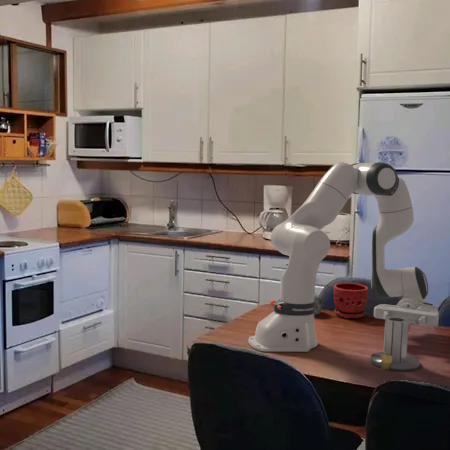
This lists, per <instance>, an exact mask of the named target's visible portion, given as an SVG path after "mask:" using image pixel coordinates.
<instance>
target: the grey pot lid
mask: <svg viewBox="0 0 450 450" xmlns="http://www.w3.org/2000/svg"><path fill="white" fill-rule="evenodd" d="M383 352H384V351H378V352H374V353H372V354H371V355H370V358H369V361H370V363H371V364H372V365H373V366H375V367H377V368H379V369H380V370H382V371H392V372H393V371H394V372H412V371H415V370H418V369H419V368H420V359H418V358H417V357H415V356H412V355H410V354H407V357H406V362H402V363H394V362H392V355H391V354H383Z"/></svg>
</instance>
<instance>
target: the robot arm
mask: <svg viewBox="0 0 450 450" xmlns="http://www.w3.org/2000/svg"><path fill="white" fill-rule="evenodd" d="M352 194H353V195H354V194H355V195H364V196H374V197H375V200H376V201H377V205H378V206H377V207H378V213H379V220H378V223H377V225H376V226H374V228H373V230H372V235H371V237H372V239H371V265H372V267H371V268H372V269H371V272H372V273H371V283H370V285H371V290H372V293H373V294H374V295H375V296H376V297H378V298H380V299H382V300H385V299H391V298H397V297H402V298H401V299H400V300H399V301H398V303H397V304H395V305H394V304H386V303H383V304H382V303H380V304H378V305H376V306H374V308H373V317H374V318H375V319H381V320H385V318H386V317H401V318H405V319H408V326H412V325H417V326H418V325H420V326H421V325H425V326H432V327H437V326H438V325H439V319H440V317H439V316H440V312H439V309H438V308H437V307H438V306H437V305H436V304H432V303H428V302H427V298H426V297H427V296H428V294H429V283H428V280H427V276H426V274H425V273H424V271H423V270H422V269H420V268H419V267H417V266H411V267H402V268H401V267H400V268H392V269H387V268H386V267H385V261H386V260H385V248H386V246H387V244H388V243H389V242H391V241H392V240H394V239H396V238H397V237H399V236H401V235H403V234H405V233H406V232H407V231H408V230H409V229H410V228H411V227H412V225H413V223H414V209H413V203H412V199H411V195H410V192H409V189H408V187H407V183H406V181H405V180H404V179H403V178H402V177H400V176H398V173H397V171H396V169H395V168H394V167H393V166H392V165H391V164H390V163H386V162H383V161H381V162H380V161H379V162H372V161H366V162H361V163H360V162H359V163H358V162H357V163H352V164H349V163H347V162H337V163H334V164H333V165H332V166H331V167H330V168H329V169H328V170H327V172H325V174H324V175H323V176H322V177H321V178H320V180H319V181H318V183H317V184H316V185H315V187H314V189H313V190H312V191H311V193H310V194H309V195H308V197H307V198H306V200H305V201H304V202H303V204H301V205H300V207H299V208H297V209H296V210H295V211H294V212H293V213H292V214H291V215H290V216H289V217H288V218H287V219H286V220H285V221H283V222H282V223H278V224H277V225H276V226H275V227H274V228H273V229H272V231H271V234H270V243H271V245H272V246H273V248H274V249H276V250H277V251H278V252H279V253H281V254H282V255H285V256H287V257H289V259H288V263H287V266H286V269H285V270H284V272H283V273H282V274H281V276H280V285H279V287H280V289H279V291H280V293H279V299H278V300H277V301H276V300H274V299H270V301H269V306H271V307H272V308H273V311H272V312H270V314H269V315H267V316H265V317H263V319H262V320H260V321H259V322H258V323H257V325H256V328H255V333H254V335H252V336H249V337H248V340H247V342H248V344H249V345H250V346H251V347H252V348H253V349H255V350H257V351H259V352H278V353H279V352H284V353H285V352H302V353H303V352H305V353H307V352H310V351H311V349H314V348H315V347H317V346H318V340H317V335H316V328H315V327H316V325H315V317H316V315H315V311H316V307H315V301H314V294H316V292H315V291H316V290H315V289H316V288H315V287H316V278H317V273H318V270H319V267H320V265H321V262H322V260H324V258H326V257H327V256H328V254H329V252H330V248H331V241H330V237H329V236H328V235H327V233H326V232H325V231H322V229H323V228H325V227H327V226H328V225H330V224H332V223H333V222H334V221H335V220H336V218H337V216H338V215H339V213H341V211H342V209H343V208H344V207H345V205H346V204H347V202H348V200H349V199H350V197H351V196H352Z"/></svg>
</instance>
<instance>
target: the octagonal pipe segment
mask: <svg viewBox="0 0 450 450" xmlns="http://www.w3.org/2000/svg"><path fill="white" fill-rule="evenodd" d="M383 332H384V334H383V337H384V338H383V351H382V352H383V354H391V355H392V362H394V363H402V362H406V357H407V355H408V353H407V352H408V340H409V339H408V337H409V335H408V334H409V333H408V332H409V325H408V319H405V318H401V317H386V318H385V319H384V331H383Z"/></svg>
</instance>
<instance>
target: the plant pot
mask: <svg viewBox="0 0 450 450" xmlns="http://www.w3.org/2000/svg"><path fill="white" fill-rule="evenodd" d="M332 291H333V303H334V306H335V308H334V313H335V315H336V316H338V317H341V318H343V317H344V319H350V318H355V319H359V318H363V317H364V315H365V314H366V312H365V311H364V309H365V308H366V305H367V302H368V297H369V287H368V286H367V285H365V284H364V285H363V284H360V283H356V282H338V283H335V284H334V285H333V290H332Z"/></svg>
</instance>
